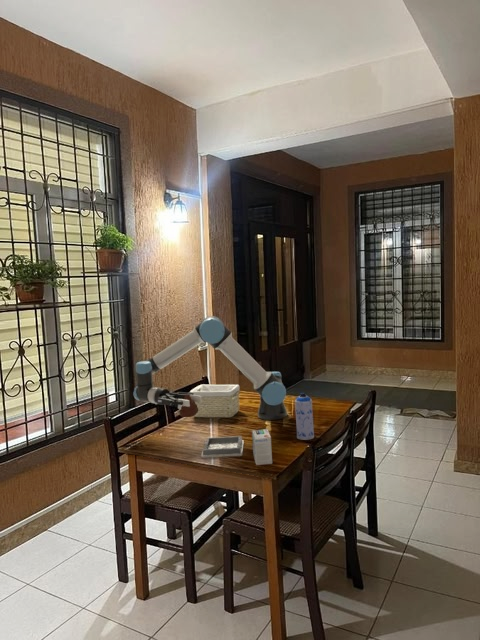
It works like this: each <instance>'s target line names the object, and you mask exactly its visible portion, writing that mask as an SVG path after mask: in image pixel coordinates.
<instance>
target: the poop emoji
mask: <svg viewBox="0 0 480 640" xmlns="http://www.w3.org/2000/svg"><path fill="white" fill-rule="evenodd" d="M184 400H189V402H190V406H189V407H187V406H181V405H178V407H177V409H178V410H179V411H178V412H179V416H180V417H183V418H191V417H194V415H196V413H197V412H198V407H197V405H196V404H195V402H194V400H193V399H192V398H191V397H190V396H189V395H185V397H184Z"/></svg>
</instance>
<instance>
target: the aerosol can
mask: <svg viewBox="0 0 480 640" xmlns="http://www.w3.org/2000/svg"><path fill="white" fill-rule="evenodd" d="M294 406H295V407H294V409H295V420H296V421H295V422H296V424H295V425H296V439H298V440H301V441H302V440H305V441H307V440H312V439H314V438H315V432H314V415H313V400H312V398H311V397H310V396H308V395H306V392H300V395H298V396H297V398H296V399H294Z"/></svg>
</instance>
